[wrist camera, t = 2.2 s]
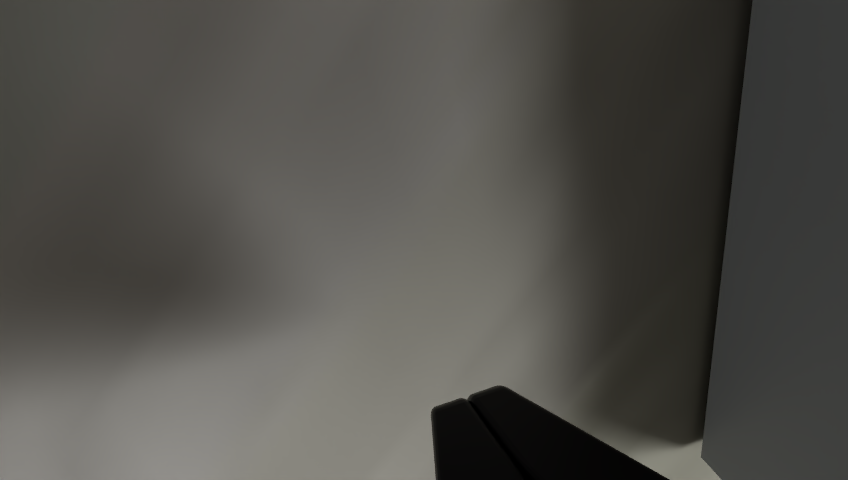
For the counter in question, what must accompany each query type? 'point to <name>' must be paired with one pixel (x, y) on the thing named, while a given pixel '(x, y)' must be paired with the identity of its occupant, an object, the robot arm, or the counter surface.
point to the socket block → (786, 256)
